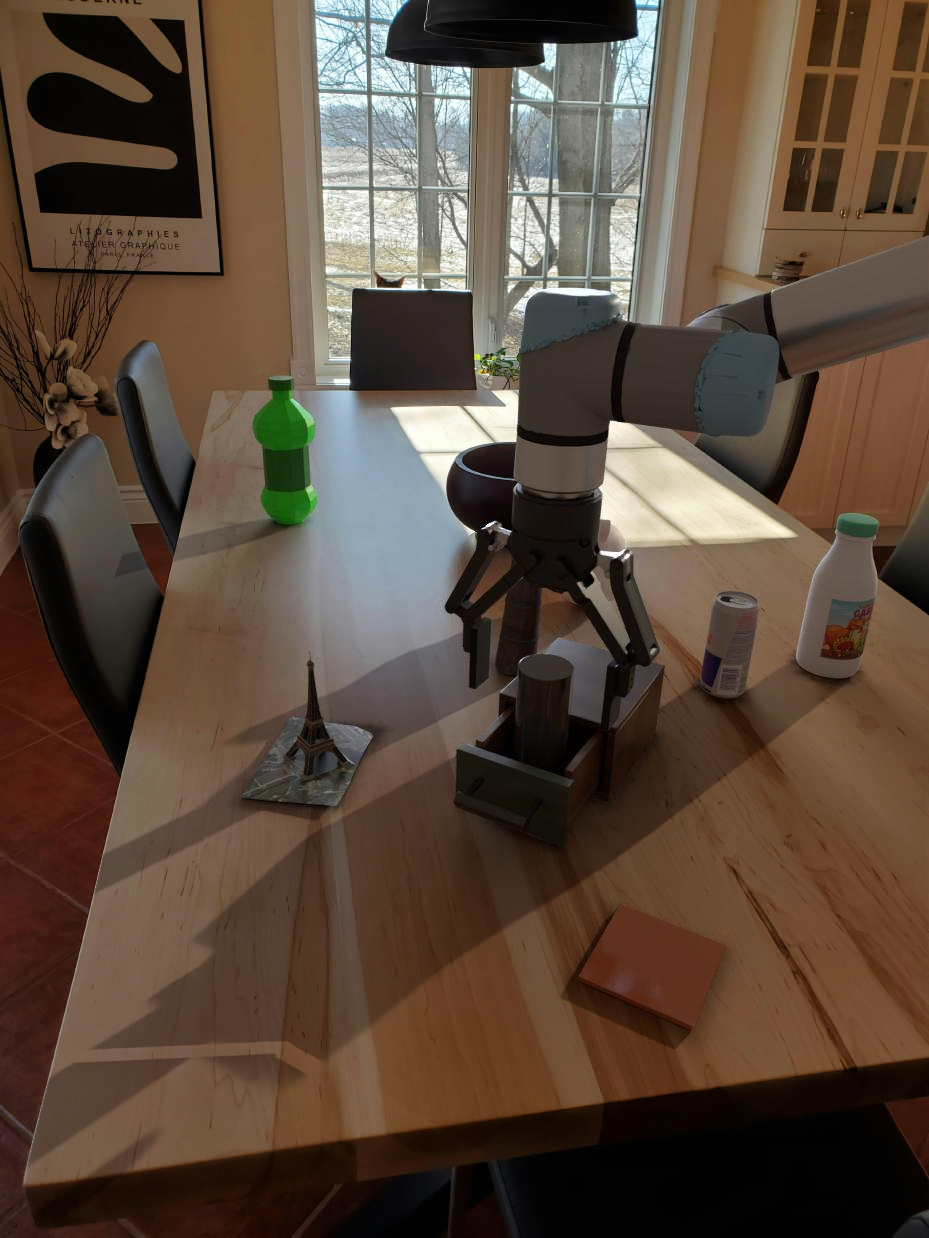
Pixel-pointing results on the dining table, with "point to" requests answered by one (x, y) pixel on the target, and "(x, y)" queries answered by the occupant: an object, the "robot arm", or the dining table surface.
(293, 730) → the eiffel tower figurine
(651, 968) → the coaster
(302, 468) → the plastic bottle
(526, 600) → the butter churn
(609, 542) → the piggy bank
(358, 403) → the dining table surface
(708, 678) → the energy drink
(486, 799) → the drawer
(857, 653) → the milk bottle
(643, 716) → the cabinet
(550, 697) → the dark grey cylinder
